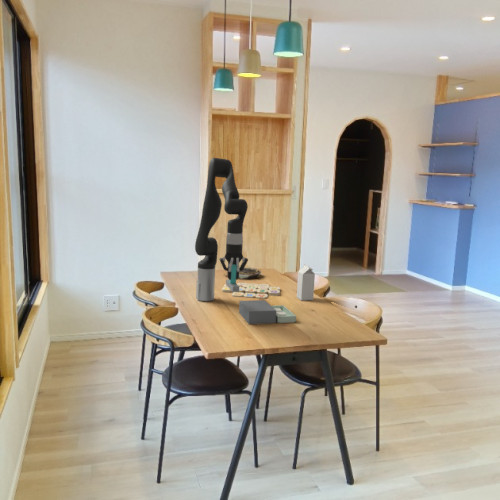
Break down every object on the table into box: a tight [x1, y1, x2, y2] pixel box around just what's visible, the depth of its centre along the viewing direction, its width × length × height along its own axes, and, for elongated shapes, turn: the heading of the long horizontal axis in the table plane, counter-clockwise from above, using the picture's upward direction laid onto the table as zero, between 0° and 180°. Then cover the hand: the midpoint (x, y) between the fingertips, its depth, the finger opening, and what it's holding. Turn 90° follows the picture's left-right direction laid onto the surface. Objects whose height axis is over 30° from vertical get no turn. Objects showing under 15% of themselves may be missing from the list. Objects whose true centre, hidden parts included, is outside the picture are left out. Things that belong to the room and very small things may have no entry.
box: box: [271, 304, 297, 324], centre depth 238 cm, size 9×18×3 cm, turn 15°
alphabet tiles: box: [221, 282, 281, 300], centre depth 286 cm, size 33×33×2 cm
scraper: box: [225, 264, 239, 293], centre depth 229 cm, size 3×14×12 cm, turn 15°
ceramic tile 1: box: [276, 312, 287, 316], centre depth 235 cm, size 4×4×2 cm
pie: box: [238, 266, 264, 280], centre depth 324 cm, size 28×27×5 cm
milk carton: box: [296, 263, 316, 301], centre depth 272 cm, size 7×7×19 cm
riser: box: [238, 299, 277, 325], centre depth 235 cm, size 13×18×6 cm
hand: (233, 279), depth 229 cm, fingers closed on scraper, 2 cm apart
